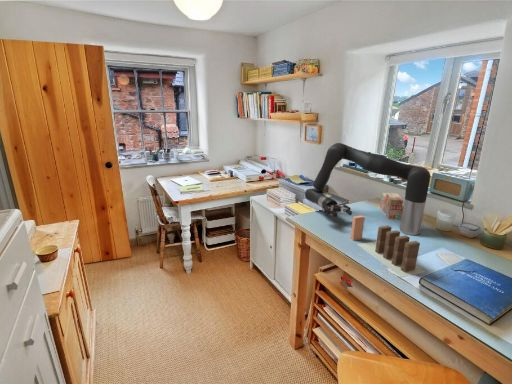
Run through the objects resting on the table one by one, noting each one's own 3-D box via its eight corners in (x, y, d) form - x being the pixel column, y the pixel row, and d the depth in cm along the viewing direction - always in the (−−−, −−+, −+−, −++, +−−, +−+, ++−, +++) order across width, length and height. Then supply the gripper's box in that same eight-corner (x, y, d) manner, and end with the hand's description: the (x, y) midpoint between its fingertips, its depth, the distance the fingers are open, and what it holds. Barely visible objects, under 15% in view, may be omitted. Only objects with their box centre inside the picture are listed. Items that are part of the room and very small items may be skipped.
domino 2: (382, 257, 122) (386, 231, 118) (392, 255, 123) (396, 230, 119) (386, 259, 120) (390, 233, 116) (396, 257, 121) (400, 232, 117)
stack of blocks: (379, 206, 181) (382, 188, 178) (390, 207, 180) (393, 188, 177) (388, 219, 161) (391, 199, 158) (400, 220, 160) (403, 199, 157)
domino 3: (391, 263, 117) (395, 236, 113) (401, 261, 118) (405, 235, 115) (395, 265, 115) (399, 239, 112) (405, 263, 117) (409, 237, 113)
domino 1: (375, 251, 126) (378, 226, 122) (384, 249, 128) (388, 225, 124) (378, 253, 124) (381, 228, 121) (387, 251, 126) (391, 227, 122)
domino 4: (400, 269, 112) (405, 242, 109) (410, 267, 114) (415, 240, 110) (404, 272, 111) (409, 245, 107) (414, 270, 112) (420, 243, 108)
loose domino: (350, 239, 138) (352, 216, 135) (359, 237, 140) (361, 215, 136) (352, 241, 136) (355, 218, 133) (361, 239, 138) (364, 216, 134)
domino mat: (357, 245, 133) (357, 244, 132) (378, 241, 136) (378, 240, 136) (400, 277, 108) (401, 276, 108) (425, 272, 111) (425, 271, 111)
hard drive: (474, 269, 111) (455, 253, 123) (453, 269, 112) (435, 252, 123) (473, 273, 112) (454, 256, 123) (452, 272, 112) (435, 256, 124)
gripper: (316, 198, 157) (332, 209, 142) (339, 196, 161) (356, 206, 146) (315, 211, 159) (331, 222, 145) (337, 208, 163) (355, 219, 149)
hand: (343, 214), depth 146 cm, fingers open, 8 cm apart
